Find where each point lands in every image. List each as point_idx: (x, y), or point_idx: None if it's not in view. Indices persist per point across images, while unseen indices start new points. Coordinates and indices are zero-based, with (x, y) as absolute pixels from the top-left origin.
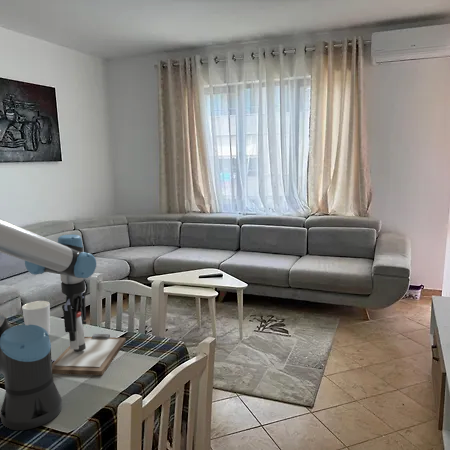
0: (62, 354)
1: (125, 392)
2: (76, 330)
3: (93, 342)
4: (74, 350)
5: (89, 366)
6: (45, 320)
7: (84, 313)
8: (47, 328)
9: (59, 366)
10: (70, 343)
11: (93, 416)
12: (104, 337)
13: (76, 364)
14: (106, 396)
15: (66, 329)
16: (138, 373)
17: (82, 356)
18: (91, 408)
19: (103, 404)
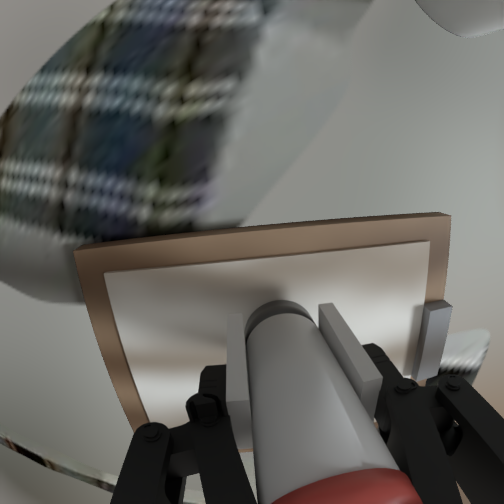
0: (233, 240)
1: (105, 486)
2: (252, 442)
3: (381, 337)
4: (249, 319)
5: (148, 418)
6: (496, 6)
7: (451, 467)
8: (472, 25)
9: (109, 297)
10: (228, 338)
11: (15, 444)
12: (416, 366)
13: (143, 370)
14: (71, 460)
15: (133, 456)
16: (194, 497)
17: (223, 363)
18: (26, 439)
19: (48, 457)
